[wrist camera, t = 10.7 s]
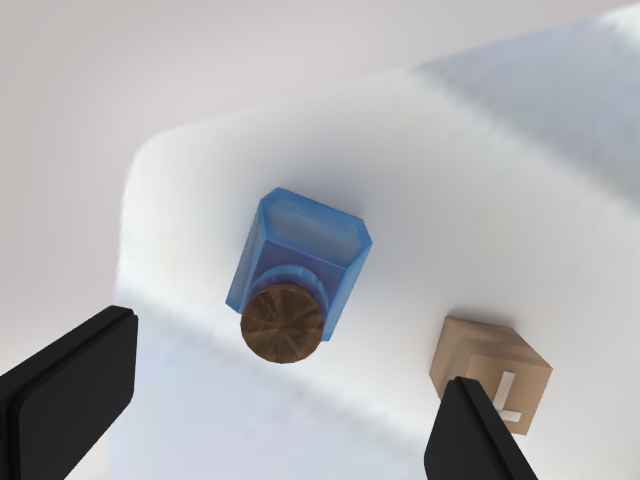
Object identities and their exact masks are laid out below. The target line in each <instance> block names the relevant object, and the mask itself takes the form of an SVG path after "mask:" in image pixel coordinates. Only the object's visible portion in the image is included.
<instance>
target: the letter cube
mask: <svg viewBox="0 0 640 480" xmlns="http://www.w3.org/2000/svg"><path fill="white" fill-rule="evenodd" d="M552 370H553V368H552V367H551V366H550V365H549V364H548V363H547V362H546V361H545V360H544V359H543V358H542V357H541V356H540V355H539V354H538V353H537V352H536V351H535V350H534V349H533V348H532V347H531V346H529V345H528V344H527V343H526V342H525V341H524V340H523V339H522V338H521V337H520V336H519V335H518V334H517V333H516V332H515V331H514V330H513V329H512V328H508V327H502V326H496V325H491V324H485V323H480V322H474V321H468V320H463V319H457V318H452V317H446V319H445V323H444V326H443V329H442V333H441V336H440V339H439V343H438V346H437V349H436V353H435V356H434V359H433V363H432V366H431V369H430V373H429V375H430V377H431V380H432V382H433V384H434V387H435V389H436V391H437V393H438V396H439V398H440V400H441V401H442V398H443V394H444V391H445V388H446V385H447V383H448V381H449V380H454V378H455V377H456V376H461V377H466V378H471V379H476V380H478V381H479V382H480V384H481V385H482V387H483V389H484V390H485V392H486V394H487V395H488V397H489V399H490V400H491V402H492V404H493V405H494V407H495V409H496V410H497V412H498V414H499V415H500V417H501V419H502V420H503V422H504V424H505V425H506V427H507V429H508V430H509V432H510V433H515V434H521V435H526V434H527V432H528V429H529V427H530V424H531V422H532V419H533V417H534V414H535V412H536V409H537V407H538V404H539V402H540V399H541V397H542V394H543V392H544V389H545V387H546V384H547V382H548V380H549V377H550V375H551V372H552Z"/></svg>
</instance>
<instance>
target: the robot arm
mask: <svg viewBox="0 0 640 480" xmlns="http://www.w3.org/2000/svg"><path fill="white" fill-rule="evenodd" d="M137 333H138V316H137V315H134V312H133V310H132V309H129V308H124V307H119V306H114V305H111V306H109V307H107V308H106V309H104V310H103V311H101V312H99V313H98V314H96V315H95V316H93V317H92V318H90V319H88V320H87V321H85V322H84V323H82V324H81V325H79V326H78V327H76V328H75V329H73V330H72V331H70V332H68V333H67V334H65V335H64V336H62V337H61V338H59V339H58V340H56V341H54V342H53V343H51V344H50V345H48V346H47V347H45V348H44V349H42V350H41V351H39V352H37V353H36V354H34V355H33V356H31V357H30V358H28V359H27V360H25V361H23V362H22V363H20V364H19V365H17V366H16V367H14V368H13V369H11V370H10V371H8V372H6V373H5V374H3V375H2V376H0V480H64V479H65V478H66V477H67V476H68V474H69V473H70V472H71V471H72V470H73V469H74V467H75V466H76V465H77V464H78V463H79V461H80V460H81V459H82V458H83V457H84V456H85V455H86V453H87V452H88V451H89V450H90V449H91V448H92V446H93V445H94V444H95V443H96V442H97V441H98V439H99V438H100V437H101V436H102V435H103V434H104V433H105V431H106V430H107V429H108V428H109V427H110V426H111V424H112V423H113V422H114V421H115V420H116V419H117V417H118V416H119V415H120V414H121V413H122V412H123V410H124V409H125V408H126V407H127V406H128V404H129V403H130V401H131V399H132V397H133V393H134V381H135V365H136V349H137ZM424 467H425V471H426V475H427V479H428V480H538V478H537V477H536V475H535V474H534V472H533V470H532V469H531V467H530V465H529V464H528V462H527V460H526V459H525V457H524V455H523V454H522V452H521V450H520V449H519V447H518V445H517V444H516V442H515V440H514V439H513V437H512V435H511V434H510V432H509V430H508V429H507V427H506V425H505V424H504V422H503V420H502V419H501V417H500V415H499V414H498V412H497V410H496V409H495V407H494V405H493V404H492V402H491V400H490V399H489V397H488V395H487V394H486V392H485V390H484V389H483V387H482V385H481V384H480V382H479V381H478V380H476V379H471V378H466V377H461V376H456V377H455V378H454V380H449V381H448V383H447V385H446V388H445V391H444V394H443V398H442V401H441V404H440V407H439V410H438V413H437V416H436V419H435V422H434V425H433V429H432V432H431V435H430V438H429V441H428V444H427V447H426V450H425V454H424Z"/></svg>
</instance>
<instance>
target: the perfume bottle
mask: <svg viewBox="0 0 640 480" xmlns="http://www.w3.org/2000/svg"><path fill="white" fill-rule="evenodd" d="M372 243H373V242H372V240H371V238H370V236H369V234H368V231H367V229H366V227H365V225H364V222H363V220H362V219H359V218H357V217H354V216H351V215H349V214H346V213H344V212H341V211H339V210H336V209H334V208H331V207H328V206H326V205H323V204H321V203H318V202H316V201H313V200H311V199H308V198H305V197H303V196H300V195H298V194H295V193H293V192H290V191H288V190H285V189H282V188H280V187H278V188H276V189H275V190H274V191H272V192H271V193H269V194H268V195H266V196H265V197H264V198H262V199H261V201H260V204H259V206H258V209H257V212H256V215H255V218H254V221H253V224H252V227H251V230H250V232H249V235H248V238H247V241H246V244H245V247H244V250H243V253H242V256H241V259H240V261H239V264H238V267H237V270H236V273H235V276H234V279H233V282H232V285H231V287H230V290H229V293H228V296H227V299H226V302H225V303H226V304H227V305H228V306H230V307H231V308H232V309H233V310H235V311H236V312H237V313H239V314H241V315H242V317H241V322H240V326H241V332H242V336H243V338H244V340H245V342H246V344H247V346H248V347H249V348H250V349H251V350H252V351H253V352H254V353H255V354H256V355H257V356H259V357H261V358H263V359H265V360H267V361H270V362H275V363H280V364H284V363H294V362H297V361H300V360H302V359H305V358H306V357H308V356H309V355H310V354H311V353H313V352H314V351H315V350H316V348H317V347H318V345H319V344H320V342H321V341H329V340H330V337H331V335H332V333H333V331H334V328H335V326H336V324H337V322H338V319H339V317H340V315H341V313H342V310H343V308H344V306H345V304H346V301H347V299H348V297H349V295H350V292H351V290H352V288H353V286H354V283H355V281H356V279H357V277H358V274H359V272H360V270H361V268H362V266H363V263H364V261H365V259H366V257H367V254H368V252H369V250H370V248H371V245H372Z"/></svg>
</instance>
